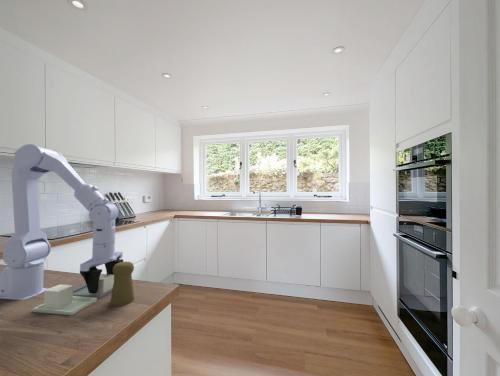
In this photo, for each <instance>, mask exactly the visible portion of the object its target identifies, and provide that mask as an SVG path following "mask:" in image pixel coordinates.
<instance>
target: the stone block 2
mask: <svg viewBox="0 0 500 376" xmlns="http://www.w3.org/2000/svg"><path fill="white" fill-rule="evenodd" d="M113 284H114V275H109V274H107V273H105V274H104V273H101V275H100V278H99V283H98V291H97V293H95V295H102V294H103V293H105V292H107V291H109V290H111V289H113ZM90 294H93V293H90Z"/></svg>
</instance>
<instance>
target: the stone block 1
mask: <svg viewBox="0 0 500 376" xmlns="http://www.w3.org/2000/svg"><path fill="white" fill-rule="evenodd" d="M48 288H49V289H47V290H44V292H43V294H44V295H43V296H44V297H43V304H44V308H47V309H60V308H62V307H64V306H66V305H68V304H70V303H72V302H73V290H74V284H73V285H71V284H57V285H55V286H52V287H48Z"/></svg>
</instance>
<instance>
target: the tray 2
mask: <svg viewBox="0 0 500 376" xmlns="http://www.w3.org/2000/svg"><path fill="white" fill-rule="evenodd" d="M112 290H113V289H111V290H109V291H107V292H105V293H103V294H102V295H95V294H90V293H89V291H88V288H87V284H86V283H85V284H84V285H82V286H80V287H77V288H75V289H73V296H79V297H92V298H97V300H101V299H103V298H104V297H106V296H108V295H109V294H112Z"/></svg>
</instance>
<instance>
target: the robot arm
mask: <svg viewBox="0 0 500 376" xmlns="http://www.w3.org/2000/svg"><path fill="white" fill-rule="evenodd" d="M50 172H53V173H55V174H56V175H58V176H59V178H61V179H62V180H63V181H64V182H65V183H66V184H67V185H68V186H69V187H70V188H71V189H73V191H74V193H73V196H74V197H75V199H76V200H77V201H78V202H79V204H81V205H82V206H83V207H84V208H85V210H87V211H88V217H89V219H90V221H91V222H92V229H93V230H92V252H91V258H90V259H88V260H87V261H84V262H83V263H82V262H81V263H80V266H79V274H80V275H81V276H82V279H84V281H85V285H86V284H87V288H88V291H89V293H93V294H95V293H97V291H98V283H99V278H100V275H101V274H102V272H103V269H101V268H98V267H99V266H102V265H104V267H105V271H106V274H109V275H114V274H113V267H114V265H115V264H117V263H120V262H124V259H122V258H123V251H115V245H116V219H117V218H118V217H119V216H120V215H119V214H120V209H119V207H118V205H117V204H116V203H114V202H110V199H108V198H107V197H105V196H104V195H103V194H102V193H101V192H100V191H99V187H98V185H93V184H90V183H86V182H85V181H84V180H83V179H82V178H81V177H80V175H79V174H78V173H77V171H76V170H75V169H74V168H73V167H72V166H71V164H70V163H69V162H68V160H67V158H66V157H65V156H63V154H62V153H61V152H59V151H58V150H56V149H49V148H45V147H42V146H38V145H35V144H31V143H30V144H29V143H27V144H24V145H22V146H21V147H19V148H18V149H17V150H16V151H14V165H13V168H12V170H11V187H12V188H11V189H12V206H13V207H12V208H13V221H14V222H13V223H14V234H13V235H12V236H10V237H9V238H8V239H7V240H6V241H5V249H4V250H3V254H2V260H3V262H4V264H5V265H7V266H6V267H4V269H3V270H2V271H1V273H0V299H3V300H4V299H6V300H16V301H17V300H18V301H24V300H27V299H30V298H33V297H35V296H38V295H40V294H44V290H47V289H49V288H50V287H44V274H45V273H44V269H45V268H44V267H45V261H46V258H47V257H48V256H49V255H50V253H51V249H52V247H51V243H50V242H49V241H48V235H47V233H45V232H43V231H42V230H41V222H40V221H41V220H40V207H39V206H40V204H39V190H38V189H39V187H38V179H40V178H41V177H42V176H43V175H45V174H48V173H50ZM114 278H115V275H114Z"/></svg>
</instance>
